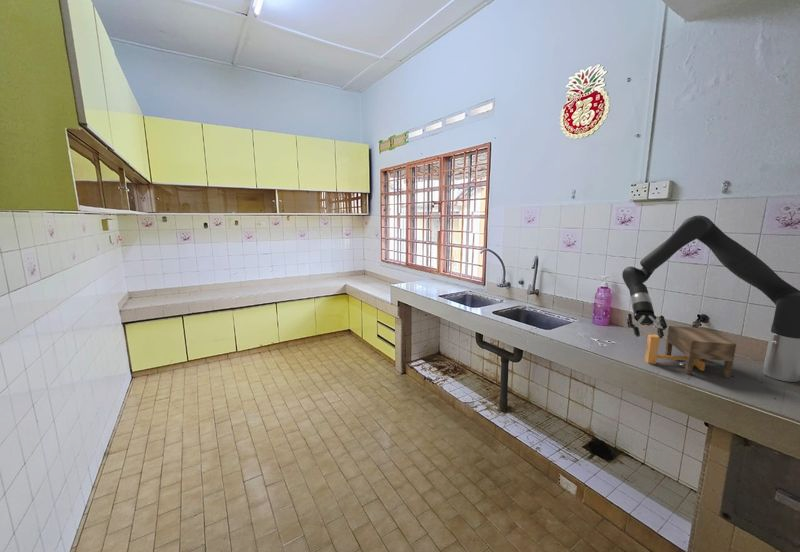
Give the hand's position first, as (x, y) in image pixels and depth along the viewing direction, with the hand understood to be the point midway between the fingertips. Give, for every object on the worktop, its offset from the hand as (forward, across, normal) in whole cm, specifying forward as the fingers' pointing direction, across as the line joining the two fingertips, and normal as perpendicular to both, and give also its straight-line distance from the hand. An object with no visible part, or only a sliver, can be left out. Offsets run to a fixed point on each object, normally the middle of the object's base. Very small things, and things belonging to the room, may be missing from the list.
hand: (649, 336), depth 143 cm
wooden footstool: (+10, +16, +5) cm, 19 cm away
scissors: (-6, -16, +21) cm, 27 cm away
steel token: (+10, +13, +5) cm, 17 cm away
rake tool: (+10, +8, +5) cm, 13 cm away
